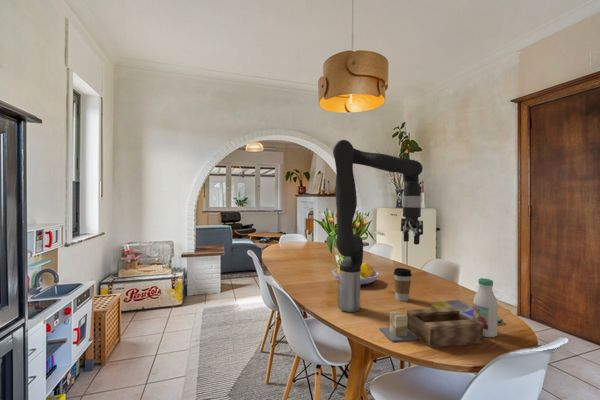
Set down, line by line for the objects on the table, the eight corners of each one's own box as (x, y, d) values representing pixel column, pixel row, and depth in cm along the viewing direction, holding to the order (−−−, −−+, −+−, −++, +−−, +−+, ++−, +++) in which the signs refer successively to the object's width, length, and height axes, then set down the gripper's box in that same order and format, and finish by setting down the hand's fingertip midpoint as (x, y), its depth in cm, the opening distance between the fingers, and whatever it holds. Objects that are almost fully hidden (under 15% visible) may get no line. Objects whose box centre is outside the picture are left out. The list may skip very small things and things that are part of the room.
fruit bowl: (381, 290, 162) (381, 269, 162) (330, 287, 166) (331, 266, 166) (376, 276, 189) (376, 258, 189) (333, 274, 194) (333, 256, 194)
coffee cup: (399, 303, 142) (400, 271, 142) (389, 297, 150) (390, 267, 150) (414, 301, 144) (415, 270, 144) (404, 295, 153) (404, 266, 152)
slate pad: (391, 342, 103) (391, 340, 103) (379, 329, 113) (379, 327, 113) (418, 340, 105) (418, 338, 105) (403, 327, 115) (403, 326, 115)
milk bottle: (488, 328, 115) (489, 277, 115) (502, 338, 108) (503, 282, 107) (468, 328, 115) (469, 276, 115) (480, 337, 107) (481, 282, 107)
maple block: (407, 335, 107) (407, 316, 107) (395, 336, 106) (396, 316, 106) (400, 329, 112) (401, 311, 112) (389, 330, 111) (389, 311, 111)
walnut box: (430, 347, 100) (430, 326, 100) (406, 328, 115) (407, 310, 115) (482, 343, 103) (483, 323, 103) (453, 324, 118) (453, 307, 118)
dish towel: (468, 329, 115) (468, 322, 115) (428, 306, 139) (428, 300, 139) (506, 326, 119) (506, 319, 119) (461, 304, 143) (461, 298, 143)
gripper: (429, 207, 126) (428, 245, 126) (410, 205, 140) (410, 240, 140) (412, 206, 125) (412, 245, 125) (396, 205, 139) (395, 240, 139)
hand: (411, 242), depth 132 cm, fingers open, 8 cm apart
